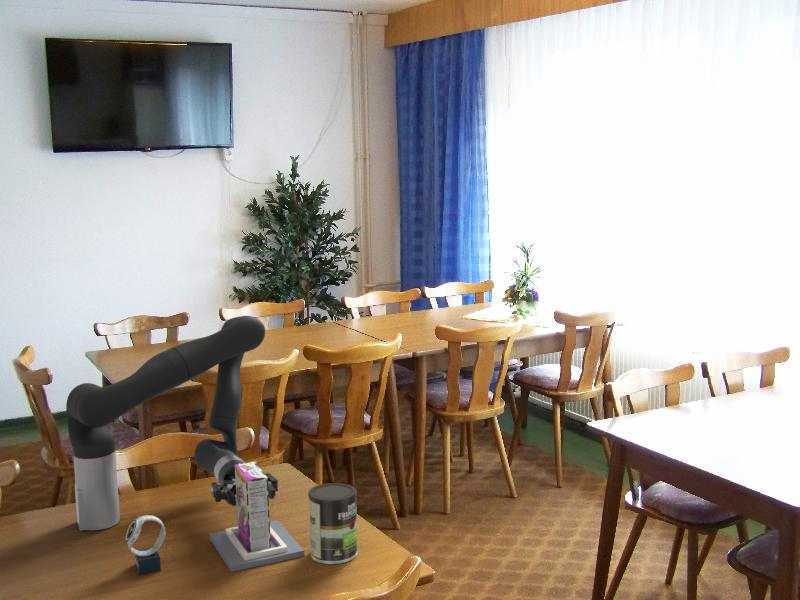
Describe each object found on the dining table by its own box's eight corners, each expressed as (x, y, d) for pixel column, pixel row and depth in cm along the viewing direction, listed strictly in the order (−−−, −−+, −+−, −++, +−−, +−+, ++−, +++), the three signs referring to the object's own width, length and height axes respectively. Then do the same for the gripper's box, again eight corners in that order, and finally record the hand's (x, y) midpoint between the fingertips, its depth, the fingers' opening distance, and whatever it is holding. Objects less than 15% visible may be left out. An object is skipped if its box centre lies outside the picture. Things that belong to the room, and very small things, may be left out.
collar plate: (231, 571, 173) (230, 561, 172) (209, 538, 189) (209, 529, 188) (304, 555, 180) (304, 545, 179) (277, 525, 196) (277, 516, 195)
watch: (125, 566, 176) (122, 516, 174) (164, 558, 179) (161, 509, 178) (129, 577, 171) (126, 526, 169) (169, 569, 174) (166, 518, 173)
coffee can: (367, 550, 182) (366, 487, 180) (339, 569, 174) (337, 503, 172) (329, 539, 188) (327, 479, 186) (300, 557, 179) (298, 494, 177)
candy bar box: (236, 534, 188) (233, 463, 186) (258, 530, 190) (255, 460, 188) (248, 554, 178) (245, 480, 176) (271, 549, 180) (269, 476, 178)
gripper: (202, 464, 193) (220, 487, 179) (262, 454, 200) (284, 476, 185) (204, 495, 195) (222, 520, 180) (263, 485, 201) (285, 508, 186)
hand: (253, 498), depth 183 cm, fingers open, 8 cm apart
